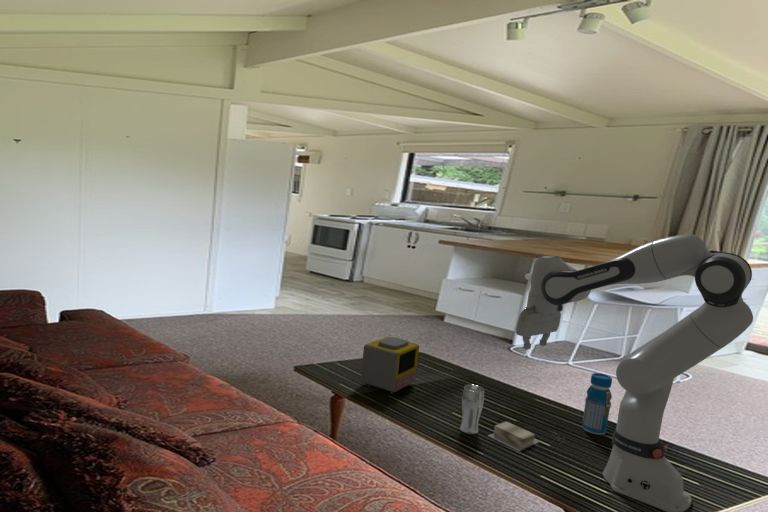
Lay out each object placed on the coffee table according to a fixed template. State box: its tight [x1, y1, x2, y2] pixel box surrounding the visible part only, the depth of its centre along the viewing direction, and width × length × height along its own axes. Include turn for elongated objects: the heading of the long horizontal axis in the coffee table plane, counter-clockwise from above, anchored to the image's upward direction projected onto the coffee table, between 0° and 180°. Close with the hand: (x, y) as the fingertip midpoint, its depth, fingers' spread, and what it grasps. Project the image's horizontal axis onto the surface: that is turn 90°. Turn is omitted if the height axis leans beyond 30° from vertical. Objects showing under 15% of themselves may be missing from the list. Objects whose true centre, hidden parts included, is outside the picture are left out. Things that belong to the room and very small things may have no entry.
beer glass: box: [459, 384, 485, 435], centre depth 170 cm, size 7×7×15 cm
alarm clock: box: [360, 336, 420, 395], centre depth 204 cm, size 20×16×18 cm
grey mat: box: [487, 432, 540, 452], centre depth 167 cm, size 12×12×1 cm
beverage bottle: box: [581, 372, 613, 436], centre depth 181 cm, size 8×8×20 cm
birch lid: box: [493, 421, 536, 448], centre depth 167 cm, size 11×7×3 cm, turn 42°
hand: (534, 347), depth 165 cm, fingers open, 8 cm apart
